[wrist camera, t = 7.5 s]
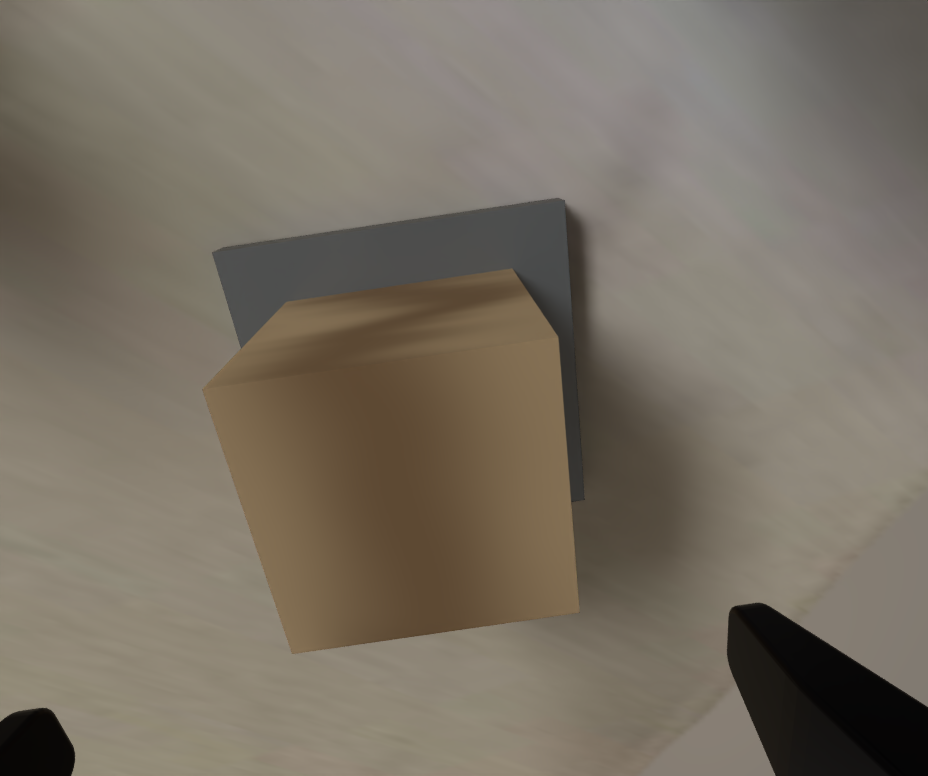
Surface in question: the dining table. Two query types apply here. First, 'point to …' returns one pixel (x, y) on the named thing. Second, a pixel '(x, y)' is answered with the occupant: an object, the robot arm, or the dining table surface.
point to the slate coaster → (418, 274)
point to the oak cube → (403, 460)
